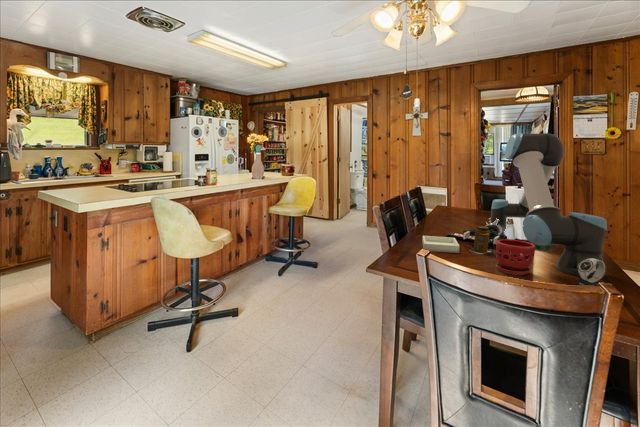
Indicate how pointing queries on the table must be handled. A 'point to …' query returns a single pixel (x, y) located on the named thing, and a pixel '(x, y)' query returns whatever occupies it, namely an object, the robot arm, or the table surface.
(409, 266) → the table surface
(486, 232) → the condiment
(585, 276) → the watch
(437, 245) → the pale green square tray
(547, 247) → the canned tomato
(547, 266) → the table surface
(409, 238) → the table surface
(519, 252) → the plant pot
